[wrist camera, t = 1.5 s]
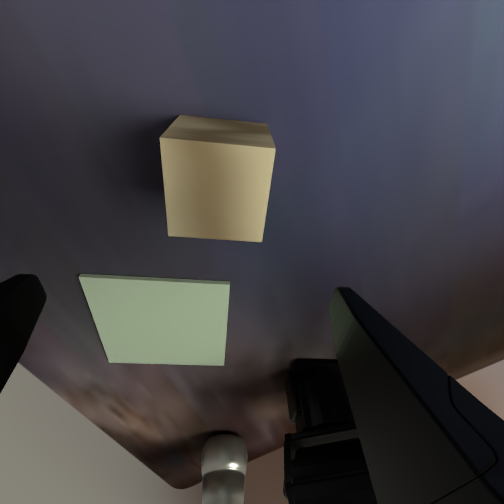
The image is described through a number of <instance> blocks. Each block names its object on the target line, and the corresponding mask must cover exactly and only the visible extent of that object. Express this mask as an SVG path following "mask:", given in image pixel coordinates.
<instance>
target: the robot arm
mask: <svg viewBox="0 0 504 504" xmlns="http://www.w3.org/2000/svg"><path fill="white" fill-rule="evenodd" d="M46 300H47V295H46V292H45V290H44V288H43V286H42V284H41V282H40V280H39V278H38V277H37V276H36V275H33V274H18V275H15V276H13V277H11V278H9V279H7V280H5V281H3V282H1V283H0V393H1V391H2V389H3V388H4V386H5V384H6V382H7V381H8V379H9V377H10V375H11V374H12V372H13V370H14V368H15V367H16V365H17V363H18V361H19V360H20V358H21V356H22V354H23V352H24V350H25V348H26V346H27V344H28V342H29V340H30V338H31V335H32V333H33V331H34V329H35V326H36V324H37V322H38V319H39V317H40V315H41V312H42V310H43V308H44V306H45V303H46ZM329 314H330V320H331V326H332V333H333V339H334V345H335V351H336V356H337V360H338V361H329V360H297V361H296V362H295V364H294V367H293V370H292V373H291V374H290V375H289V377H288V380H287V383H286V394H287V402H288V409H289V417H290V422H291V423H295V424H296V431H297V433H293V434H291V433H288V434H285V442H284V474H285V475H284V487H283V493H284V496H285V498H286V499H287V500H288V501H289V504H504V420H502V419H501V418H500V417H499V416H497V415H496V414H495V413H494V412H492V411H491V410H490V409H488V408H487V407H486V406H485V405H484V404H483V403H481V402H480V401H479V400H478V399H476V397H474V396H473V395H472V394H471V393H470V392H468V391H467V390H466V389H465V388H464V387H462V386H461V385H460V384H459V383H458V382H457V381H456V380H455V379H454V378H452V377H451V376H448V374H447V372H445V371H444V370H443V369H442V368H441V367H440V366H439V365H437V364H436V363H435V362H434V361H433V360H432V359H431V358H430V357H428V356H427V355H426V354H425V353H424V352H423V351H422V350H420V349H419V348H418V347H417V346H416V345H415V344H414V343H412V342H411V341H410V340H409V339H408V338H407V337H406V336H405V335H403V334H402V333H401V332H400V331H399V330H398V329H397V328H395V327H394V326H393V325H392V324H391V323H390V322H389V321H387V320H386V319H385V318H384V317H383V316H382V315H381V314H380V313H378V312H377V311H376V310H375V309H374V308H373V307H372V306H370V305H369V304H368V303H367V302H366V301H365V300H364V299H362V298H361V297H360V296H359V295H358V294H357V293H356V292H355V291H353V290H352V289H351V288H349V287H337V288H336V289H335V291H334V293H333V296H332V299H331V302H330V305H329Z"/></svg>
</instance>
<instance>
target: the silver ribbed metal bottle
mask: <svg viewBox="0 0 504 504" xmlns="http://www.w3.org/2000/svg"><path fill="white" fill-rule="evenodd" d="M201 466H202V476H203V485H202V504H243V502H244V482H245V474H246V466H247V450H246V445H245V443H244V441H243V439H242V438H241V437H239V436H237V435H232V434H220V435H215V436H212V437H210V438H209V439H208V440H207V442H206V443H205V445H204V448H203V452H202V457H201Z"/></svg>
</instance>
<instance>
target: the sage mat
mask: <svg viewBox="0 0 504 504" xmlns="http://www.w3.org/2000/svg"><path fill="white" fill-rule="evenodd" d="M79 280H80V282H81V285H82V288H83V291H84V293H85V296H86V299H87V302H88V305H89V307H90V310H91V313H92V316H93V319H94V321H95V324H96V327H97V330H98V332H99V335H100V338H101V341H102V344H103V346H104V349H105V352H106V355H107V358H108V360H109V363H144V364H181V365H217V366H224V359H225V345H226V331H227V317H228V304H229V290H230V281H211V280H192V279H173V278H154V277H135V276H116V275H98V274H80V276H79Z"/></svg>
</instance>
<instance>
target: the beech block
mask: <svg viewBox="0 0 504 504" xmlns="http://www.w3.org/2000/svg"><path fill="white" fill-rule="evenodd" d="M160 148H161V159H162V170H163V181H164V192H165V203H166V214H167V225H168V236H176V237H192V238H207V239H222V240H237V241H252V242H262V238H263V231H264V225H265V218H266V211H267V204H268V197H269V191H270V184H271V177H272V170H273V164H274V157H275V150H276V148H275V145H274V142H273V139H272V136H271V133H270V130H269V127H268V125H267V124H264V123H255V122H245V121H235V120H225V119H216V118H206V117H196V116H186V115H179V117H178V118H177V119H176V120H175V121H174V122H173V123H172V124H171V125H170V126H169V128H168V129H167V130H166V131H165V132H164V133H163V134H162V135H161V136H160Z"/></svg>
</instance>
